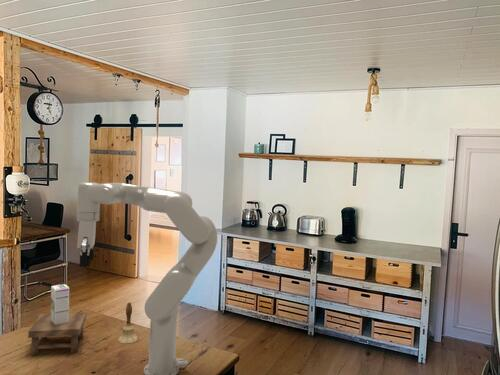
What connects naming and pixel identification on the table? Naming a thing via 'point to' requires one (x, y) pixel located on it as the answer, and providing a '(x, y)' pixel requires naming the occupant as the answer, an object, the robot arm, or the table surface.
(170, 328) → the robot arm
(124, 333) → the hand bell
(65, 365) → the table surface
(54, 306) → the syrup box
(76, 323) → the tan broad flat fixture
